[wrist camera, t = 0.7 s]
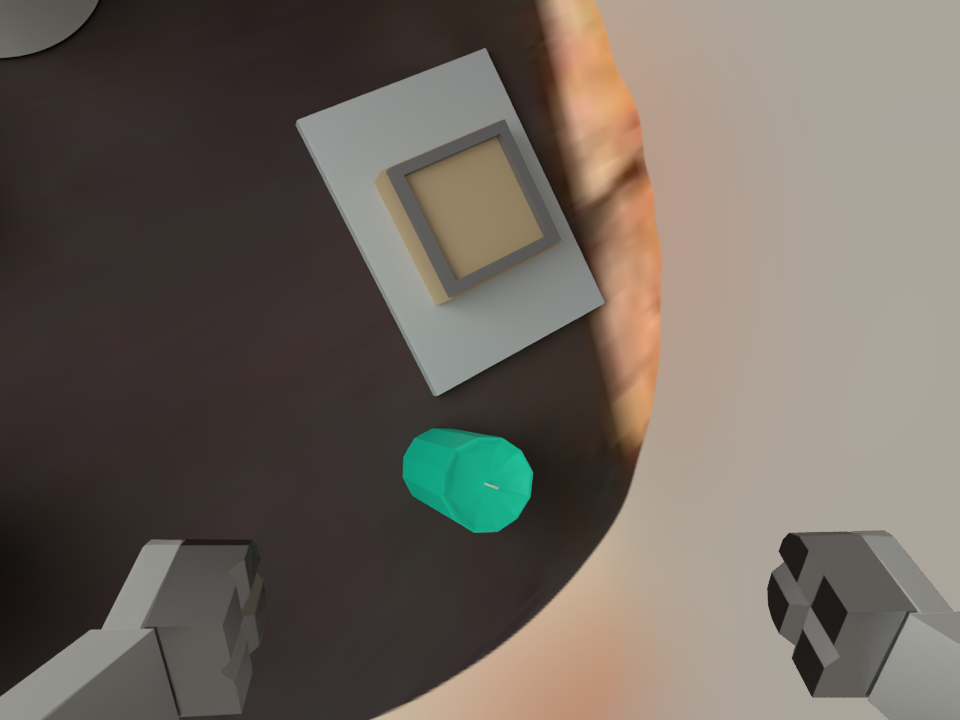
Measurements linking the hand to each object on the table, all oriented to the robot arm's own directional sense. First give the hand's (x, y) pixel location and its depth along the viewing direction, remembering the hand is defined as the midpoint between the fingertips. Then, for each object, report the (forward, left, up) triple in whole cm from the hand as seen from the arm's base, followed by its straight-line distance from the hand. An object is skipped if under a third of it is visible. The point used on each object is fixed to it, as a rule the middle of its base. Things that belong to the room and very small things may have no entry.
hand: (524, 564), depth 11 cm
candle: (+8, +8, -41) cm, 43 cm away
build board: (-8, +18, -41) cm, 45 cm away
